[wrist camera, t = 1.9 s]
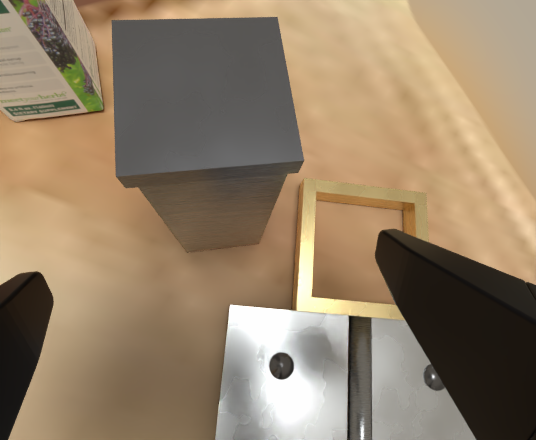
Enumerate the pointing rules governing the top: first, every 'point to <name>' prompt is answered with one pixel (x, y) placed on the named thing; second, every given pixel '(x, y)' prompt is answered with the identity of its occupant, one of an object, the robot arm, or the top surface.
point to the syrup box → (46, 60)
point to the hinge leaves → (333, 353)
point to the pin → (205, 124)
